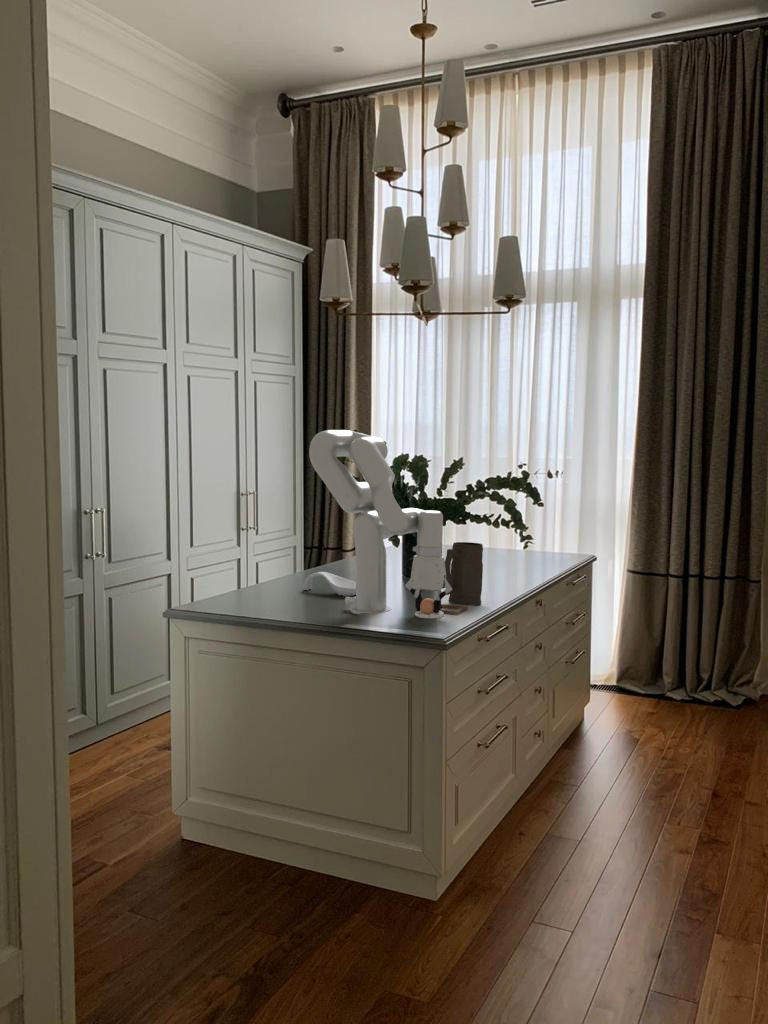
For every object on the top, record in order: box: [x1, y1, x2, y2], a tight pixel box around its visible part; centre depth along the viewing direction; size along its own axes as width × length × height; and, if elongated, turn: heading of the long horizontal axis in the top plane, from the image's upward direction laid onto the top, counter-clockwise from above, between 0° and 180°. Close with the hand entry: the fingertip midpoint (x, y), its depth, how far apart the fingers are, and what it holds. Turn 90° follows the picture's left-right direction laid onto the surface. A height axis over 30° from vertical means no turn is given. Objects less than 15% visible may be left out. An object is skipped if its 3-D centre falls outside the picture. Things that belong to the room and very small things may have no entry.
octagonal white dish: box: [414, 610, 445, 619], centre depth 276 cm, size 8×8×2 cm
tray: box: [440, 603, 468, 616], centre depth 283 cm, size 9×9×2 cm
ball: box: [420, 597, 434, 615], centre depth 276 cm, size 5×5×5 cm
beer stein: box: [444, 541, 484, 606], centre depth 297 cm, size 15×11×20 cm
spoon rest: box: [302, 571, 356, 597], centre depth 318 cm, size 24×12×7 cm, turn 62°
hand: (428, 610), depth 277 cm, fingers closed on ball, 4 cm apart
